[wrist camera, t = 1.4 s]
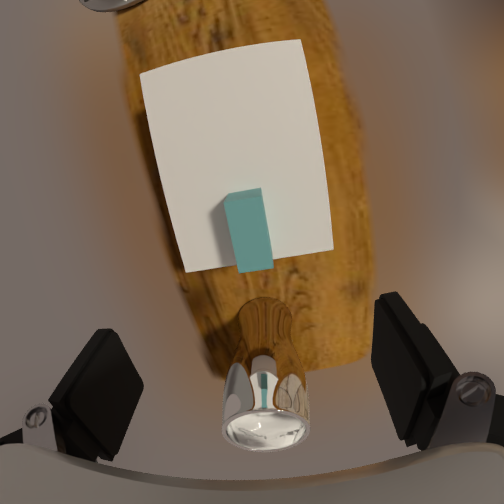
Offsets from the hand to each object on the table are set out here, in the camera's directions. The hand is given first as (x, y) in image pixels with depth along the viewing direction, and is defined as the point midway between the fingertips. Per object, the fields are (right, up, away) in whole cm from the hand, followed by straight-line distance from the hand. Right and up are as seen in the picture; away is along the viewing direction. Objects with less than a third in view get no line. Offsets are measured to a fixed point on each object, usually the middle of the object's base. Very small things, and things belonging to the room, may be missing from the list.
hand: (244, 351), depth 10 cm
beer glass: (+2, -4, +23) cm, 23 cm away
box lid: (-1, +10, +11) cm, 15 cm away
